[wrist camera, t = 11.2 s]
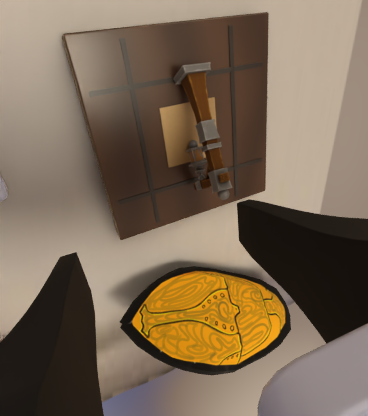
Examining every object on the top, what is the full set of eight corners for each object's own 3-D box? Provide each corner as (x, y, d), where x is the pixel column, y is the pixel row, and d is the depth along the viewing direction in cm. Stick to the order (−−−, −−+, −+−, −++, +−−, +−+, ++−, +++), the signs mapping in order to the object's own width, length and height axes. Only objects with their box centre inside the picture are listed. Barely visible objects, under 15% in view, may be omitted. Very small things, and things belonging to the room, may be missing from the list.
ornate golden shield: (126, 394, 18) (112, 397, 22) (323, 353, 24) (282, 361, 29) (118, 264, 22) (107, 288, 27) (286, 258, 29) (255, 279, 33)
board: (117, 233, 22) (121, 241, 21) (61, 36, 16) (62, 33, 14) (257, 186, 26) (266, 191, 25) (257, 14, 20) (270, 11, 18)
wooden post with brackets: (190, 204, 21) (218, 203, 17) (161, 93, 20) (183, 63, 16) (211, 197, 21) (244, 195, 17) (185, 90, 21) (212, 60, 16)
